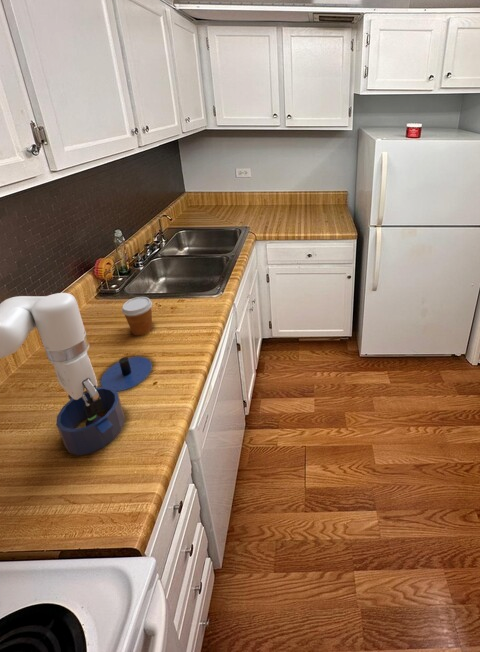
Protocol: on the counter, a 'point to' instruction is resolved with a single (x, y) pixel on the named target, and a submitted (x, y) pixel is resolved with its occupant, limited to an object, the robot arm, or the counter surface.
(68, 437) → the pot
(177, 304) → the counter surface
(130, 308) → the disposable coffee cup
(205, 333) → the counter surface
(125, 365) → the lid
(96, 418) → the blackberry
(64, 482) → the counter surface
